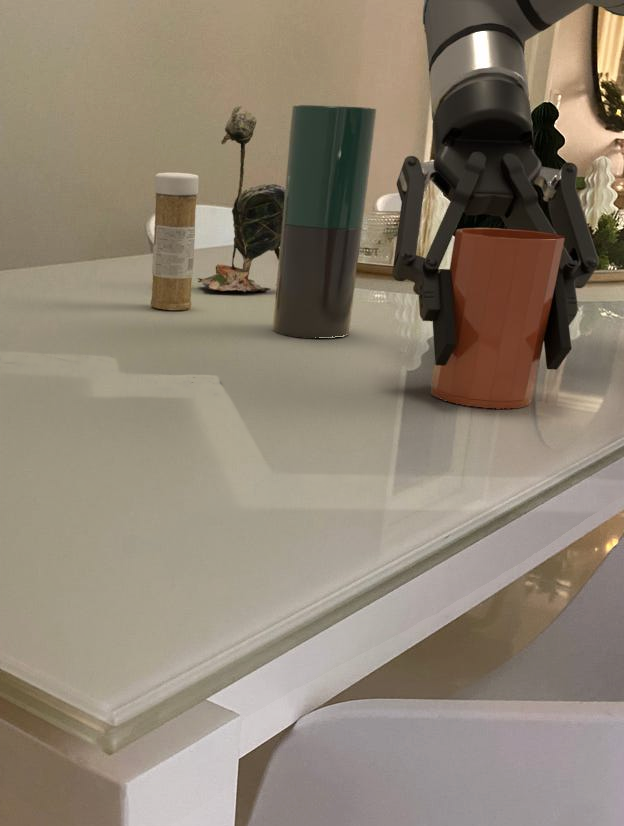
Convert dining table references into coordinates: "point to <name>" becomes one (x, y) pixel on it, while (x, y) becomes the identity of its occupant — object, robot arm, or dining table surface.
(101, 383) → the dining table surface
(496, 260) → the terracotta cup
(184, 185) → the brown spice jar
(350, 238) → the cup stack
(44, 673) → the dining table surface
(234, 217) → the plant with pod
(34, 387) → the dining table surface
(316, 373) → the dining table surface
